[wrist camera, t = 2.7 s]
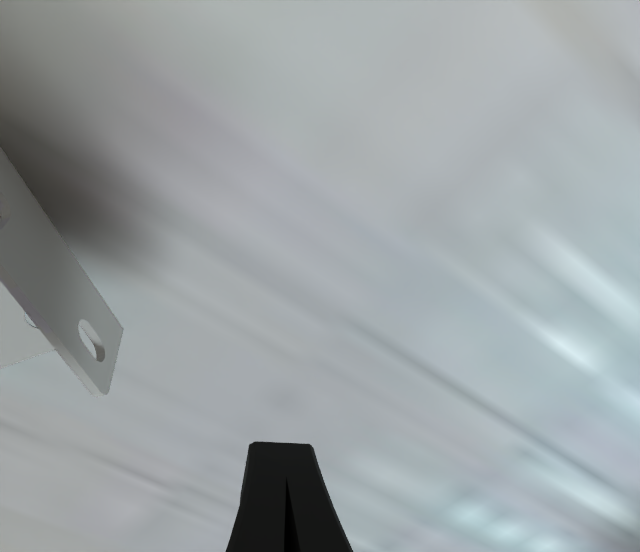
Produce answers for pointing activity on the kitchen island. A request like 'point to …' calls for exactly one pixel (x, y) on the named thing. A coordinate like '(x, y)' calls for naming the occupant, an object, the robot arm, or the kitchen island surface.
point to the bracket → (48, 292)
